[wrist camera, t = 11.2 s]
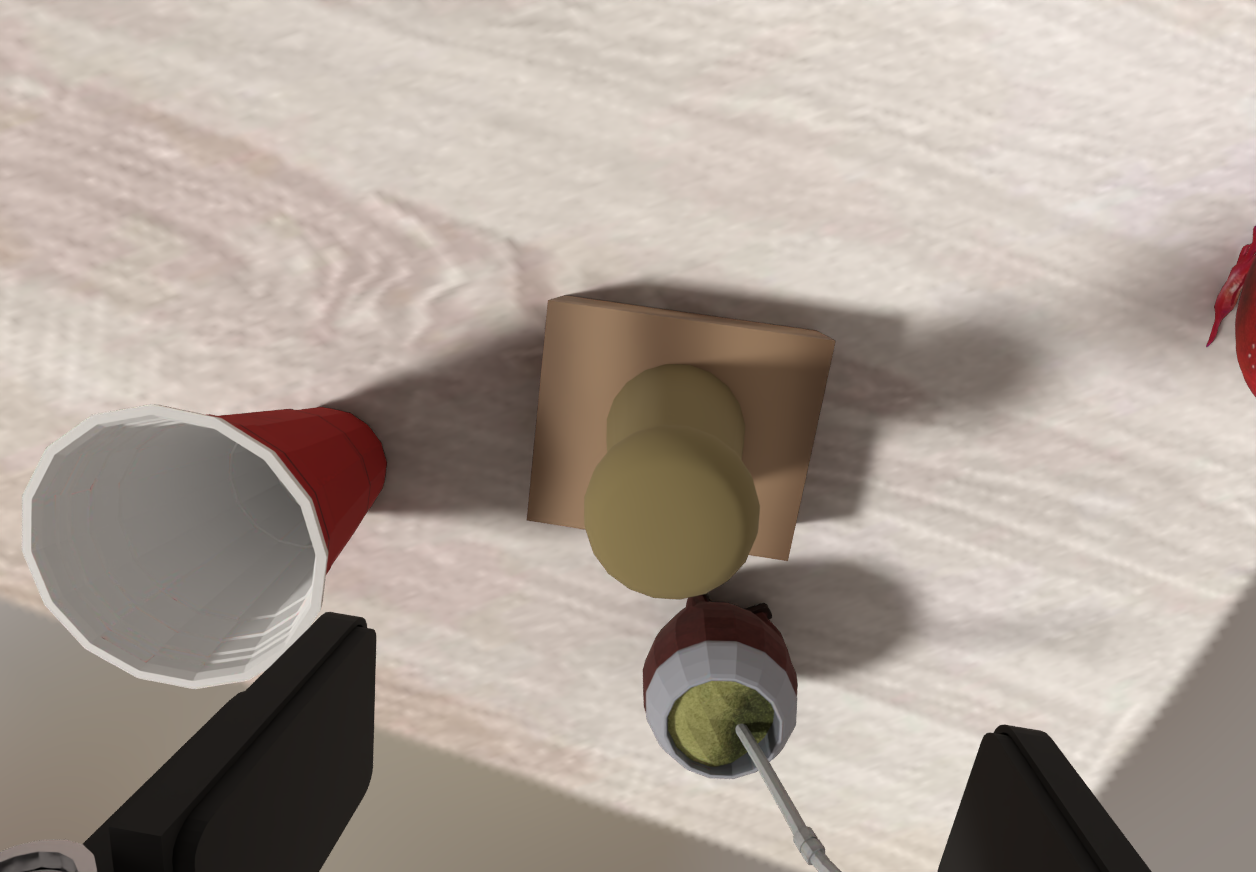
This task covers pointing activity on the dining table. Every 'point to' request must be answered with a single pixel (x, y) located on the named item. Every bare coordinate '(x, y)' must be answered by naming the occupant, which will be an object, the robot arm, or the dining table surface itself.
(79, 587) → the plastic cup
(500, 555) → the dining table surface
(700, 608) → the mate gourd
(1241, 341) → the decorative bird figurine
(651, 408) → the olive pawn figure
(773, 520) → the walnut plinth
